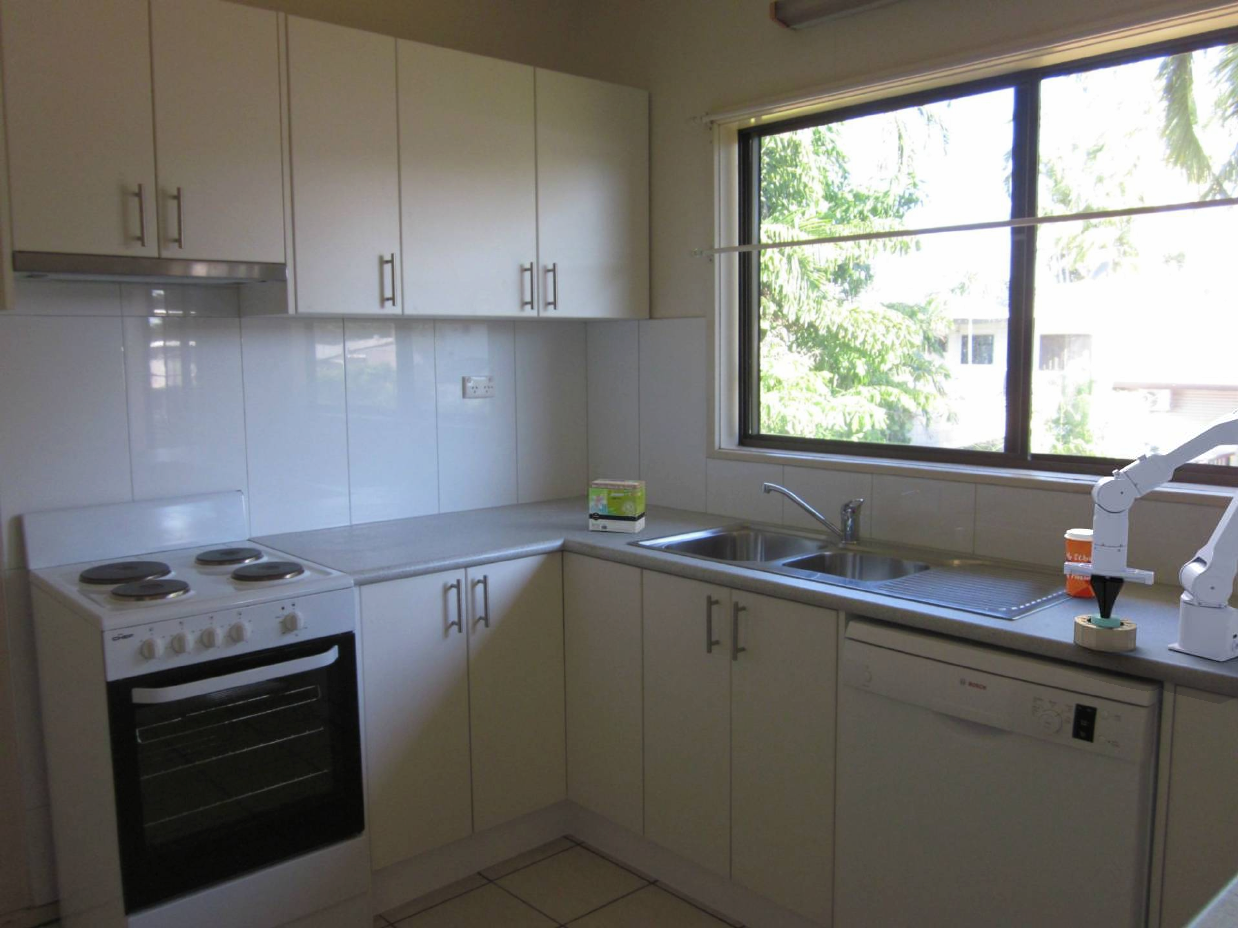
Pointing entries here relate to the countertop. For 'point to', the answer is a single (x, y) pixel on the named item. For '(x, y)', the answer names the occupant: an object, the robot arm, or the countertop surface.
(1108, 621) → the teal rounded cylinder
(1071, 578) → the paper cup
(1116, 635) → the brown faceted tube
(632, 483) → the tea box
